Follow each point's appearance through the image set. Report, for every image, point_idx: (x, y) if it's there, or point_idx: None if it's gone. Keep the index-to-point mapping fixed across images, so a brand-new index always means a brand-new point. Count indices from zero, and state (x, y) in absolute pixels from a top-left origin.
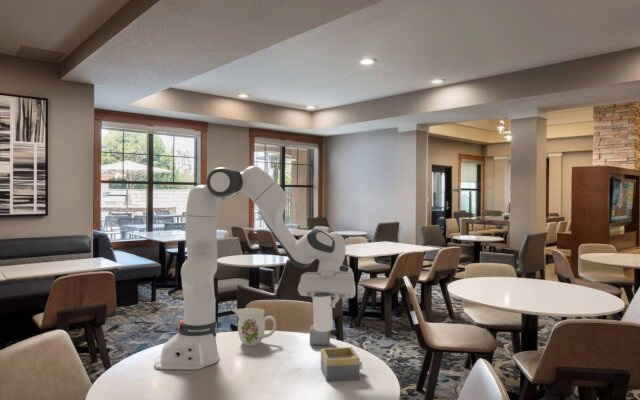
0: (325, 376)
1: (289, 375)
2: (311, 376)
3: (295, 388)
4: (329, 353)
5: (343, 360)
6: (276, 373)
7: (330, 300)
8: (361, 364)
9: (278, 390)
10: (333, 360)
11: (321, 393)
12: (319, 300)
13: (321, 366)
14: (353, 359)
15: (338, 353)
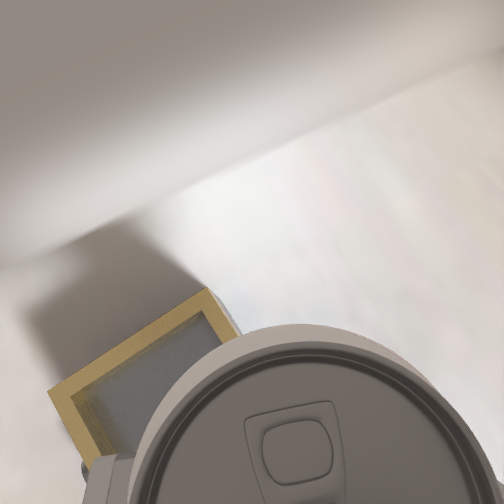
0: (232, 319)
1: (398, 291)
2: (303, 323)
3: (309, 188)
4: None
5: (129, 339)
6: (464, 286)
7: (129, 482)
8: (82, 463)
9: (360, 146)
10: (175, 308)
11: (197, 192)
12: (286, 332)
13: None
14: (79, 370)
15: None
